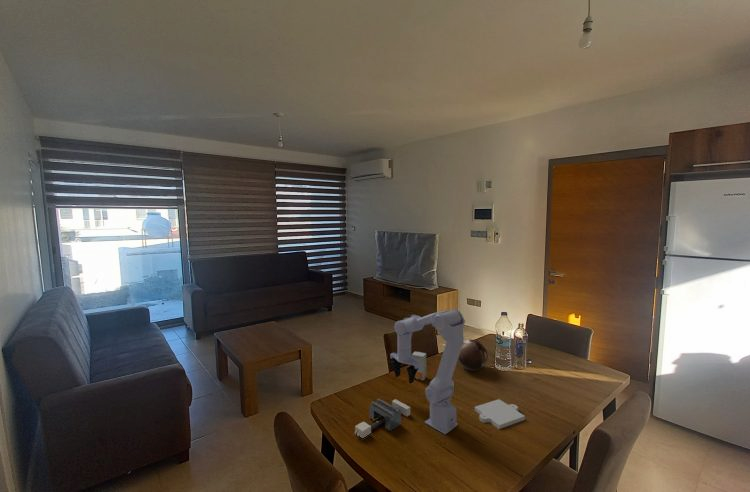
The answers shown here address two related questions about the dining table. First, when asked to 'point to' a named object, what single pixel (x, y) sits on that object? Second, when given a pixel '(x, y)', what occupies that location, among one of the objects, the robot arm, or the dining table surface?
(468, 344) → the wooden sphere
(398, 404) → the white ended gray rod
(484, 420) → the mounting plate
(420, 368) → the skincare box
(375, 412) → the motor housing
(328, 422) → the dining table surface
